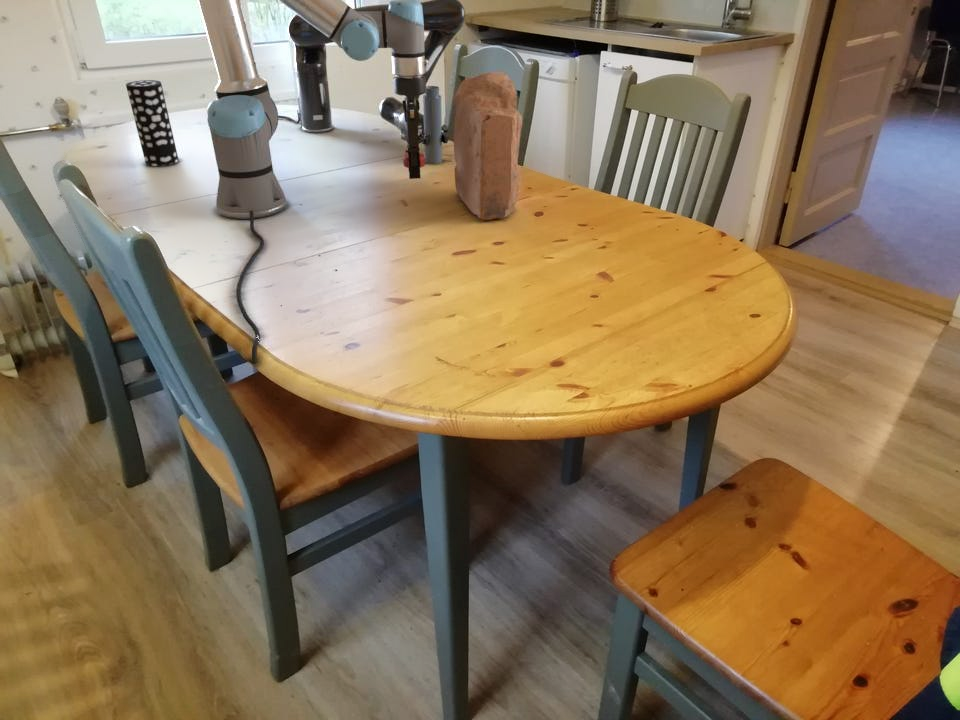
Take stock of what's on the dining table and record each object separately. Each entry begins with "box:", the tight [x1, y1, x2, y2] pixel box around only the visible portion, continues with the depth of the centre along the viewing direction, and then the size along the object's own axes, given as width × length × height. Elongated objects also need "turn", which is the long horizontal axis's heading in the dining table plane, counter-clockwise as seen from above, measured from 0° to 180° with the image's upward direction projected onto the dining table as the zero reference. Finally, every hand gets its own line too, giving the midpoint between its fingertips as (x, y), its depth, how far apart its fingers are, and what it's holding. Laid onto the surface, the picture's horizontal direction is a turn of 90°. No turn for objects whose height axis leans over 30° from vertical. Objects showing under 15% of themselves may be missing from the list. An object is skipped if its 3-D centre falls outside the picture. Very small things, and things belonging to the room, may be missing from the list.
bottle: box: [422, 85, 443, 165], centre depth 185 cm, size 5×5×19 cm
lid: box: [402, 152, 426, 169], centre depth 170 cm, size 5×5×2 cm
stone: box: [453, 71, 523, 221], centre depth 154 cm, size 22×11×28 cm, turn 18°
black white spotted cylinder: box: [125, 79, 179, 167], centre depth 181 cm, size 8×8×20 cm
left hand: (414, 174), depth 172 cm, fingers closed on lid, 5 cm apart
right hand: (436, 140), depth 184 cm, fingers closed on bottle, 5 cm apart
